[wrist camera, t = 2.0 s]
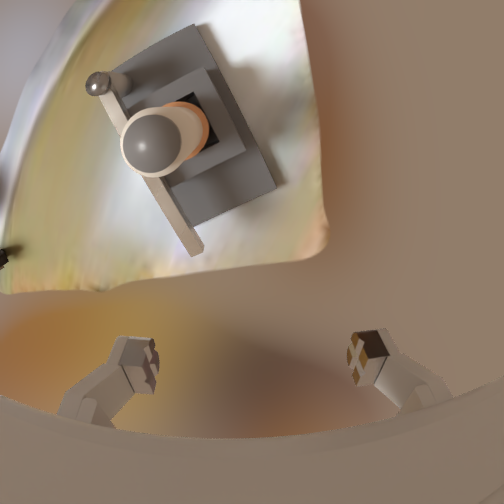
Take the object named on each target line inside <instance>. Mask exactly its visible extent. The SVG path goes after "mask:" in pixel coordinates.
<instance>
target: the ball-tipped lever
mask: <svg viewBox="0 0 504 504" xmlns="http://www.w3.org/2000/svg"><path fill="white" fill-rule="evenodd" d="M86 91H87V93H88V94H89V95H91V96H99V98H100V100H101V102H102V104H103V106H104V107H105V109H106V111H107V113H108V115H109V117H110V119H111V121H112V123H113V125H114V127H115V128H116V130H117V132H118V134H119V136H120V138H121V134H122V131H123V129H124V127H125V125H126V123H127V122H128V121H129V119H130V118H131V116H130V114H129V112H128V110H127V108H126V106H125V104H124V102H123V101H122V99H121V97H120V95H119V93H118V91H117V89H116V87H115V85H114V83H113V81H112V79H111V77H110V75H109V73H108V72H106V71H101V72H95V73H93V74H91V75H90V76H89V78H88V79H87V81H86ZM142 177H143V179H144V180H145V182H146V184H147V186H148V187H149V189H150V191H151V192H152V194H153V196H154V197H155V199H156V201H157V203H158V204H159V206H160V208H161V209H162V211H163V213H164V214H165V216H166V217H167V219H168V221H169V222H170V224H171V226H172V227H173V229H174V231H175V232H176V234H177V235H178V237H179V239H180V240H181V242H182V243H183V245H184V247H185V248H186V250H187V251H188V253H189V254H190V256H191V257H193V256H195V255H198V254H200V253H202V252H203V250H204V244H203V242H202V241H201V239H200V237H199V236H198V234H197V232H196V231H195V229H194V227H193V226H192V224H191V222H190V221H189V219H188V217H187V216H186V214H185V212H184V210H183V209H182V207H181V205H180V204H179V202H178V200H177V198H176V197H175V195H174V193H173V192H172V190H171V188H170V186H169V185H168V183H167V181H166V179H165V178H164V176H161V177H146V176H143V175H142Z"/></svg>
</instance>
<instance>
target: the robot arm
mask: <svg viewBox="0 0 504 504" xmlns="http://www.w3.org/2000/svg"><path fill="white" fill-rule="evenodd" d="M351 341H352V343H351V344H350V345H349V346H348V349H347V363H348V366H349V367H350V368H351V369H352V370H354V371H353V373H352V376H353V379H354V382H355V385H356V387H358V386H365V385H371V384H374V386H375V387H377V388H378V389H379V390H380V391H381V392H382V393H383V394H385V395H386V396H387V397H388V398H389V399H390V400H391V401H392V402H393V403H394V404H396V405H397V406H398V407H399V408H400V411H399V412H398V414H397V415H396V416H395V417H393V418H389V419H385V420H381V421H377V422H372V423H368V424H363V425H359V426H353V427H348V428H343V429H337V430H331V431H325V432H318V433H311V434H302V435H293V436H282V437H269V438H268V437H267V438H245V439H211V438H188V437H174V436H163V435H154V434H146V433H139V432H131V431H126V430H120V429H116V427H115V426H114V425H113V423H112V422H111V421H110V420H111V419H112V418H113V417H114V416H115V415H116V414H117V413H118V412H119V411H120V409H121V408H122V407H123V406H124V405H125V404H126V403H127V402H128V401H129V400H130V398H131V397H132V396H133V395H134V394H135V393H141V394H154V390H155V386H156V380H155V376H156V375H157V374H158V372H159V355H158V352H157V351H155V350H154V348H155V343H154V339H152V338H142V337H128V336H118V337H117V338H116V340H115V343H114V345H113V348H112V350H111V353H110V356H109V358H108V360H107V363H106V364H102V365H101V366H99V367H98V368H97V369H95V370H94V371H93V372H91V373H90V374H89V375H87V376H86V377H85V378H84V379H82V380H81V381H79V382H78V383H77V384H75V385H74V386H73V387H72V388H70V389H69V390H68V391H66V392H65V394H64V397H63V400H62V402H61V404H60V407H59V410H58V412H57V415H56V414H52V413H49V412H45V411H43V410H40V409H37V408H33V407H31V406H28V405H25V404H22V403H20V402H17V401H15V400H12V399H10V398H7V397H5V396H2V395H0V504H504V376H501V377H499V378H497V379H495V380H493V381H491V382H489V383H487V384H485V385H483V386H480V387H478V388H476V389H474V390H471V391H469V392H467V393H464V394H462V395H459V396H457V397H454V398H453V396H452V394H451V392H450V390H449V388H448V387H447V385H446V383H445V381H444V379H443V378H442V377H440V376H439V375H437V374H436V373H434V372H432V371H431V370H429V369H428V368H426V367H425V366H423V365H421V364H420V363H418V362H417V361H415V360H413V359H412V358H410V357H409V356H407V355H405V354H401V353H400V351H399V349H398V347H397V346H396V344H395V342H394V340H393V339H392V337H391V335H390V333H389V331H388V330H387V329H386V328H383V329H376V330H368V331H361V332H354V333H353V334H352V337H351Z"/></svg>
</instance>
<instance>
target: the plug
mask: <svg viewBox="0 0 504 504" xmlns="http://www.w3.org/2000/svg"><path fill="white" fill-rule="evenodd" d="M208 136H209V123H208V120H207V117H206V115H205V114H204V112H203V111H202V110H201V109H200V108H198V107H197V106H195V105H194V104H191V103H188V102H171V103H168V104H166V105H164V106H162V107H152V108H147V109H144V110H141V111H139V112H138V113H136V114H135V115H133V116H132V117H131V118H130V119H129V121H128V122H127V123H126V125H125V127H124V129H123V131H122V134H121V140H120V147H121V153H122V156H123V158H124V160H125V162H126V163H127V165H128V166H129V167H130V168H131V169H132V170H133V171H135V172H136V173H138V174H140V175H143V176H146V177H161V176H165V175H167V174H169V173H171V172H173V171H174V170H175V169H177V168H178V167H179V166H180V165H181V164H182V162H183V161H185V160H188V159H190V158H192V157H194V156H195V155H196V154H198V153H199V152H200V151H201V149H202V148H203V147H204V145H205V144H206V142H207V139H208Z"/></svg>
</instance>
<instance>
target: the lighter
mask: <svg viewBox="0 0 504 504" xmlns="http://www.w3.org/2000/svg"><path fill="white" fill-rule="evenodd" d="M7 262H9V261H8V259H7V257H6V254H5V252H4V251H3V250H0V270H1V269H2V268H4V266H3V265H4V264H6V263H7Z"/></svg>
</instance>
